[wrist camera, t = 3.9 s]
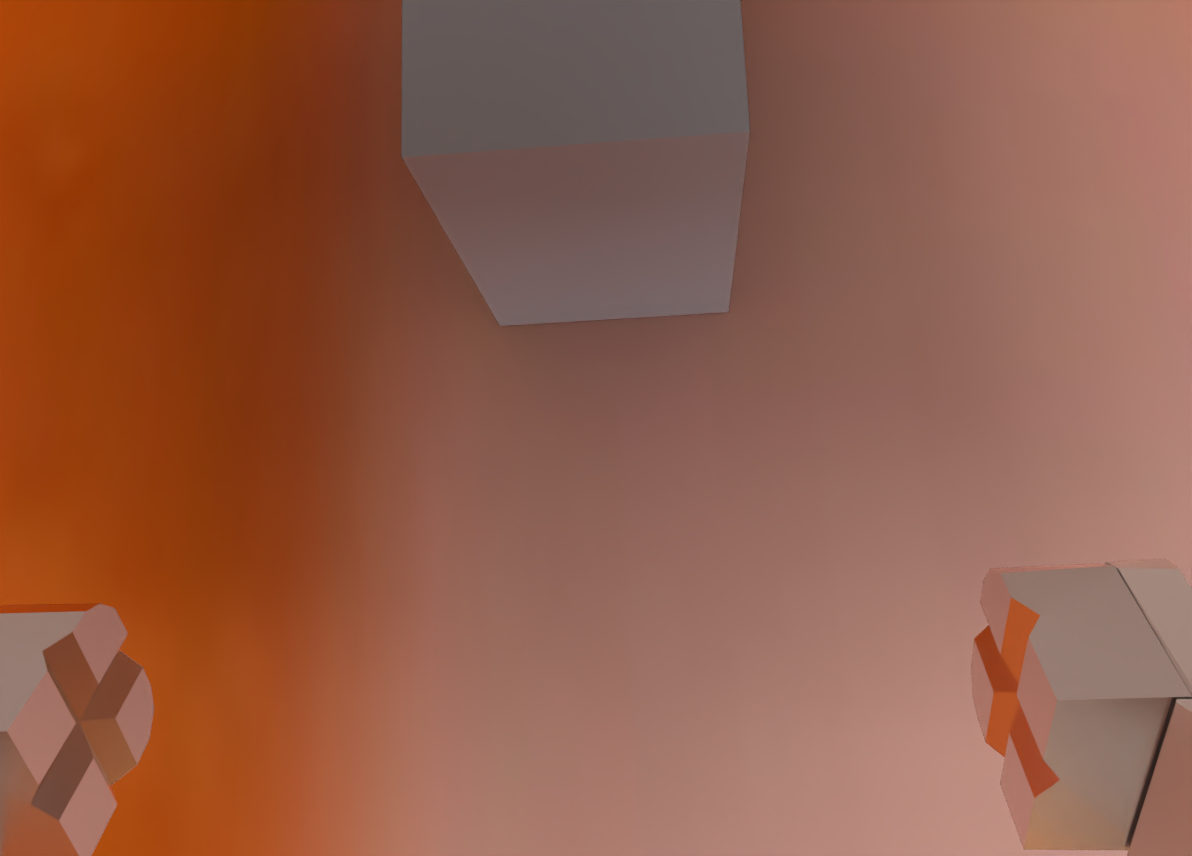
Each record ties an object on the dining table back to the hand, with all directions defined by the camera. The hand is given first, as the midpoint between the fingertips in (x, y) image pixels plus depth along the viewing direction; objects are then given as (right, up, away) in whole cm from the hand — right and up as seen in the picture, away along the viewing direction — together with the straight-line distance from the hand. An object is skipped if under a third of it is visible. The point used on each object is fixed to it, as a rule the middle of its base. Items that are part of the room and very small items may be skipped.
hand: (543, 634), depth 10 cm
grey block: (+1, +11, +14) cm, 18 cm away
